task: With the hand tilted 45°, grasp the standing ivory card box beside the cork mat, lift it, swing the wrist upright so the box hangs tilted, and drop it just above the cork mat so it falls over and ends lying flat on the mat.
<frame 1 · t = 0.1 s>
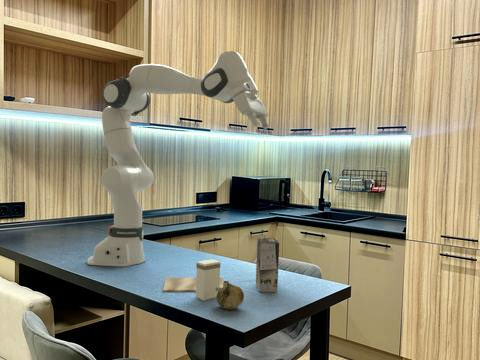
hand: (261, 127, 150), 54 cm above the countertop, tool tilted 30°, fingers open, 8 cm apart
onion: (229, 308, 123), on the countertop
mat: (194, 285, 144), on the countertop
coffee box: (266, 288, 144), on the countertop
card box: (207, 296, 133), on the countertop
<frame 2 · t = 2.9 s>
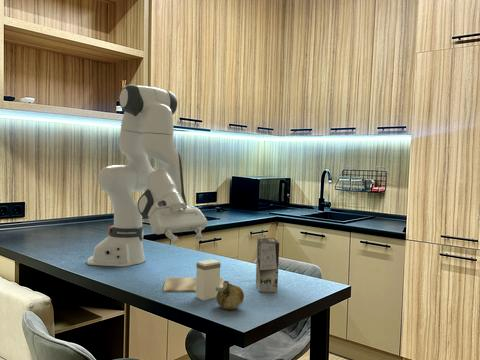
hand: (188, 240, 140), 16 cm above the countertop, tool tilted 45°, fingers open, 8 cm apart
nothing on the countertop moved.
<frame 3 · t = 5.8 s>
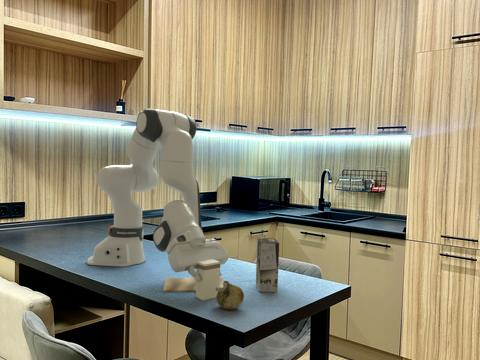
hand: (209, 278, 132), 6 cm above the countertop, tool tilted 45°, fingers closed on card box, 6 cm apart
card box: (207, 296, 133), on the countertop, touching gripper
everything else where it was.
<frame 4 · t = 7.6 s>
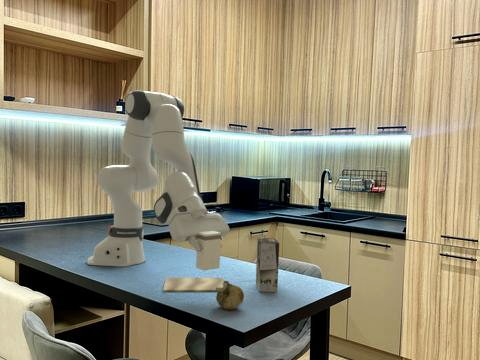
hand: (209, 249, 131), 15 cm above the countertop, tool tilted 45°, fingers closed on card box, 6 cm apart
card box: (207, 267, 132), point 9 cm above the countertop, touching gripper
everything else where it was.
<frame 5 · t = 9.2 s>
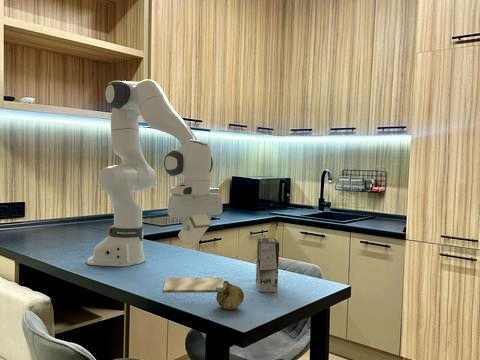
hand: (195, 229, 143), 19 cm above the countertop, tool pointing down, fingers closed on card box, 6 cm apart
card box: (187, 238, 147), point 15 cm above the countertop, tilted 45°, touching gripper
everything else where it was.
when the fingers open (8 cm above the countertop, at t = 11.0 s): card box drops 1 cm and tips over, resting on mat.
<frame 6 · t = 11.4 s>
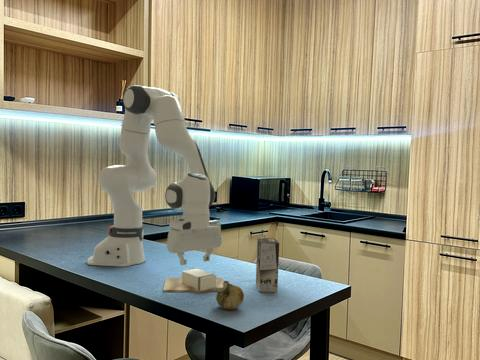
hand: (195, 262, 144), 8 cm above the countertop, tool pointing down, fingers open, 8 cm apart
card box: (189, 275, 146), point 3 cm above the countertop, tilted 90°, touching mat
everything else where it was.
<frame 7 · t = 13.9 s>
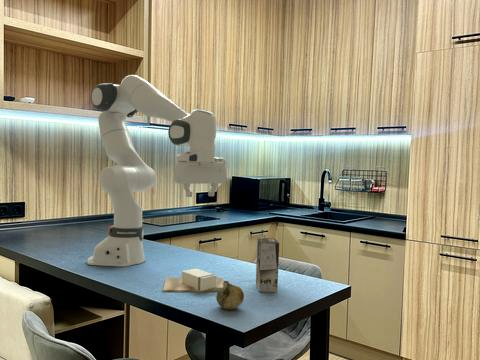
hand: (200, 196, 149), 29 cm above the countertop, tool pointing down, fingers open, 8 cm apart
nothing on the countertop moved.
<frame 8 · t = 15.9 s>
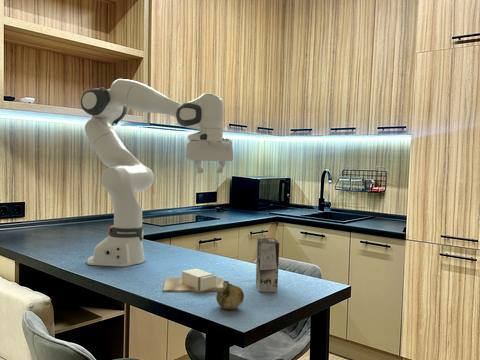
hand: (210, 173, 164), 37 cm above the countertop, tool pointing down, fingers open, 8 cm apart
nothing on the countertop moved.
at the end: card box tilted 90°; card box 3.1 cm from the mat (horizontally); the gripper is holding nothing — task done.
